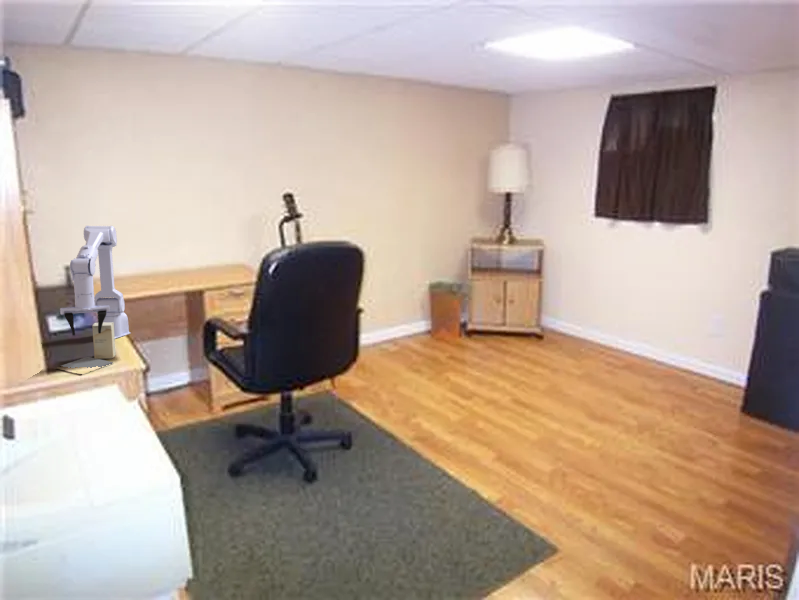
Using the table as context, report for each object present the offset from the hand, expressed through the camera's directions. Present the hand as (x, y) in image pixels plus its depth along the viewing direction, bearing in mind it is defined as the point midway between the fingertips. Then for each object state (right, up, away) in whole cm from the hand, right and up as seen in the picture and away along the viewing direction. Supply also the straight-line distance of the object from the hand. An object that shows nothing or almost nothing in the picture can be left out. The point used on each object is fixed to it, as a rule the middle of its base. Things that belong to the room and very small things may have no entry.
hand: (86, 334), depth 193 cm
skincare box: (+2, -9, +9) cm, 13 cm away
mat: (0, -11, -1) cm, 11 cm away
